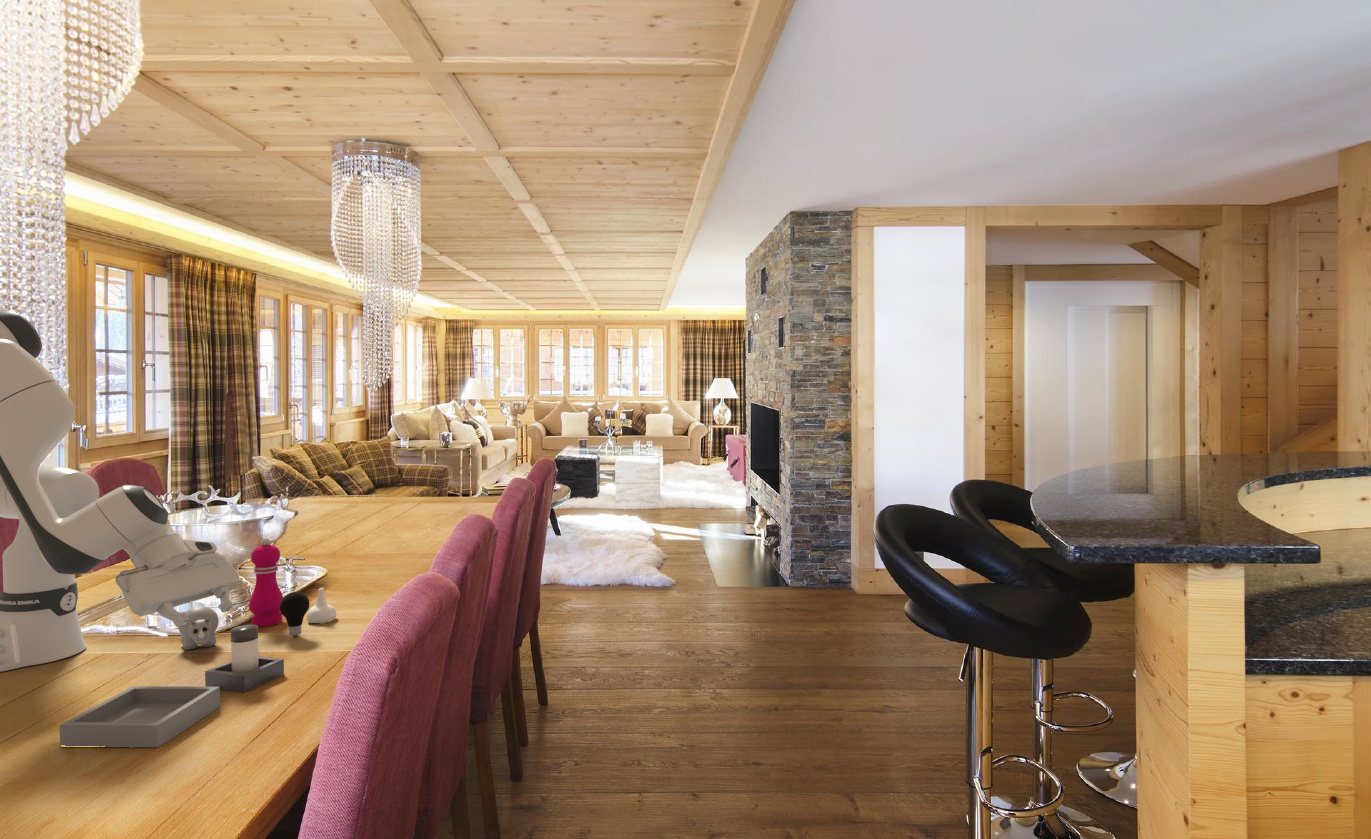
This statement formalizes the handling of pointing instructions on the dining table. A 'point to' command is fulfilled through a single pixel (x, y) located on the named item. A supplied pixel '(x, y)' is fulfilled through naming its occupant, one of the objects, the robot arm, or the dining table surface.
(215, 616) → the chubby cartoon animal
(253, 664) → the salt shaker
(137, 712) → the slate tray
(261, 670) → the socket collar
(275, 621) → the pepper mill
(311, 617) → the garlic bulb
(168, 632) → the dining table surface
